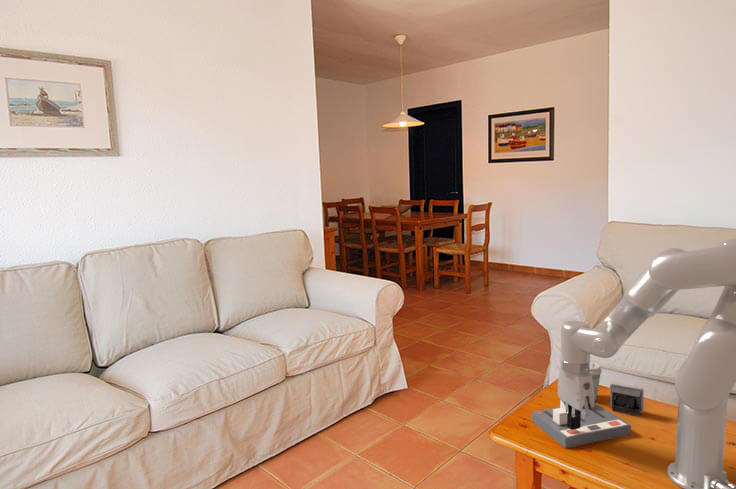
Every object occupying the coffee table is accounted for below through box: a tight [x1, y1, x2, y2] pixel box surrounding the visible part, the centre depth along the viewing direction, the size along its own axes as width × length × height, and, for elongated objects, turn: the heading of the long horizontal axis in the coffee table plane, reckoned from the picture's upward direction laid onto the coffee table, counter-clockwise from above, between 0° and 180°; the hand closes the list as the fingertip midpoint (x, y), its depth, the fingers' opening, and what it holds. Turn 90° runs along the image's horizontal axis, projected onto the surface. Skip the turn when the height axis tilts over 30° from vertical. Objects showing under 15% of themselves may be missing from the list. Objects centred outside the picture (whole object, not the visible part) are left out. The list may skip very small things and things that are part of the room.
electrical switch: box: [609, 382, 645, 417], centre depth 151 cm, size 9×5×9 cm, turn 57°
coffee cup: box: [590, 360, 603, 403], centre depth 161 cm, size 8×8×12 cm
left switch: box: [553, 408, 568, 425], centre depth 140 cm, size 3×3×4 cm
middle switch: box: [559, 399, 566, 410], centre depth 148 cm, size 3×3×4 cm
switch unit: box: [531, 402, 632, 449], centre depth 143 cm, size 16×22×3 cm
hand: (573, 427), depth 135 cm, fingers closed
